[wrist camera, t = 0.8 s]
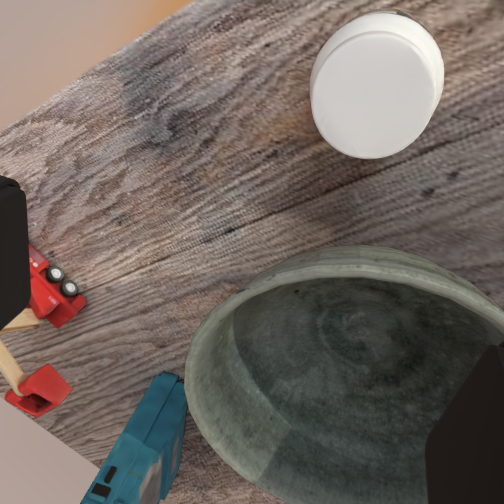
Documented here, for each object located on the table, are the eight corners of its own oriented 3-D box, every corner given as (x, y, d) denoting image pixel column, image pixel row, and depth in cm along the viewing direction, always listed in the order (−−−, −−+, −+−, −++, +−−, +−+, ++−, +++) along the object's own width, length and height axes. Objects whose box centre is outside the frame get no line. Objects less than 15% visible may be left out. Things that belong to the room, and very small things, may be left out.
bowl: (468, 134, 27) (504, 203, 18) (555, 397, 34) (610, 534, 25) (181, 245, 36) (116, 327, 27) (298, 435, 43) (275, 547, 34)
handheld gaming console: (155, 365, 43) (58, 525, 30) (198, 378, 42) (117, 547, 30) (151, 433, 48) (66, 594, 35) (189, 445, 47) (117, 614, 35)
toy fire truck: (4, 211, 38) (-100, 272, 30) (121, 328, 42) (56, 412, 33) (-15, 231, 40) (-118, 294, 32) (99, 342, 43) (32, 425, 35)
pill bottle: (445, 92, 26) (471, 143, 18) (346, 130, 28) (328, 191, 20) (414, -15, 24) (428, -13, 16) (311, 36, 26) (274, 60, 18)
